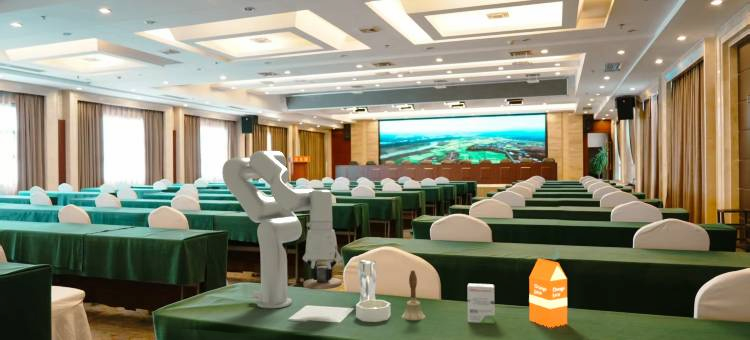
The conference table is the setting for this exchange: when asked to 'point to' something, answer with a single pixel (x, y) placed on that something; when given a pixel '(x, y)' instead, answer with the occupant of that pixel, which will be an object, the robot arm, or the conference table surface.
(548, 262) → the orange juice
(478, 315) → the ink box
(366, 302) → the bowl
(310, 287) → the lid
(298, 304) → the conference table surface
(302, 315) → the mat
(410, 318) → the hand bell
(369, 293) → the beer glass
